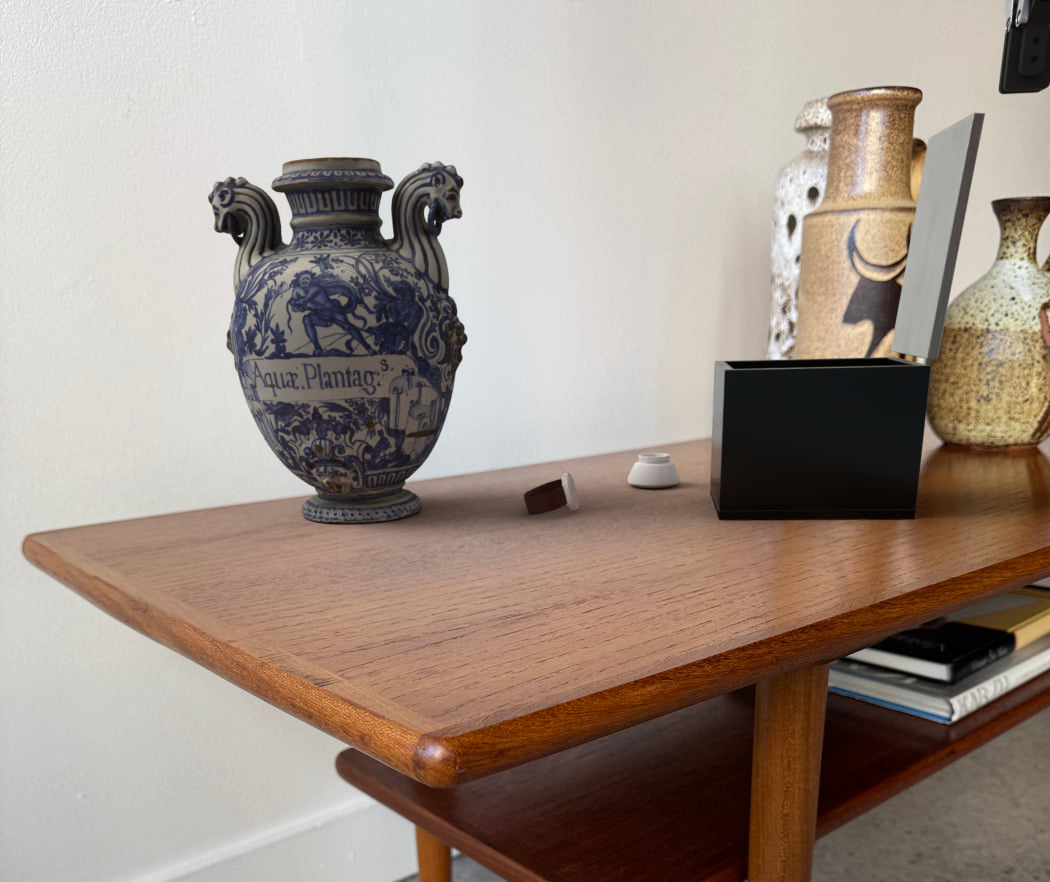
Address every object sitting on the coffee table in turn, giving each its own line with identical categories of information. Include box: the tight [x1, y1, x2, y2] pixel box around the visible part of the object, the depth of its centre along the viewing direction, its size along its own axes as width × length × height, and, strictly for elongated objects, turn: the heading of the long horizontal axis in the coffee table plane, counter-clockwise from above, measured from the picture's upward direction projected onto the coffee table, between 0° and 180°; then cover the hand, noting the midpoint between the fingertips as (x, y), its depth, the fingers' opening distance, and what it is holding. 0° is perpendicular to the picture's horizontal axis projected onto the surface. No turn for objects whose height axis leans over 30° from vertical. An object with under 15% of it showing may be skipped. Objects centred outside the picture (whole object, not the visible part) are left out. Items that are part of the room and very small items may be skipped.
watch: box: [523, 469, 579, 516], centre depth 91 cm, size 8×5×4 cm, turn 168°
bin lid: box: [890, 112, 986, 361], centre depth 82 cm, size 17×13×1 cm
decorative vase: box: [207, 156, 468, 524], centre depth 88 cm, size 21×19×28 cm
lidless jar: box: [627, 452, 680, 489], centre depth 102 cm, size 5×3×5 cm
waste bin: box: [709, 356, 932, 521], centre depth 88 cm, size 16×13×12 cm
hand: (1023, 90), depth 78 cm, fingers closed
